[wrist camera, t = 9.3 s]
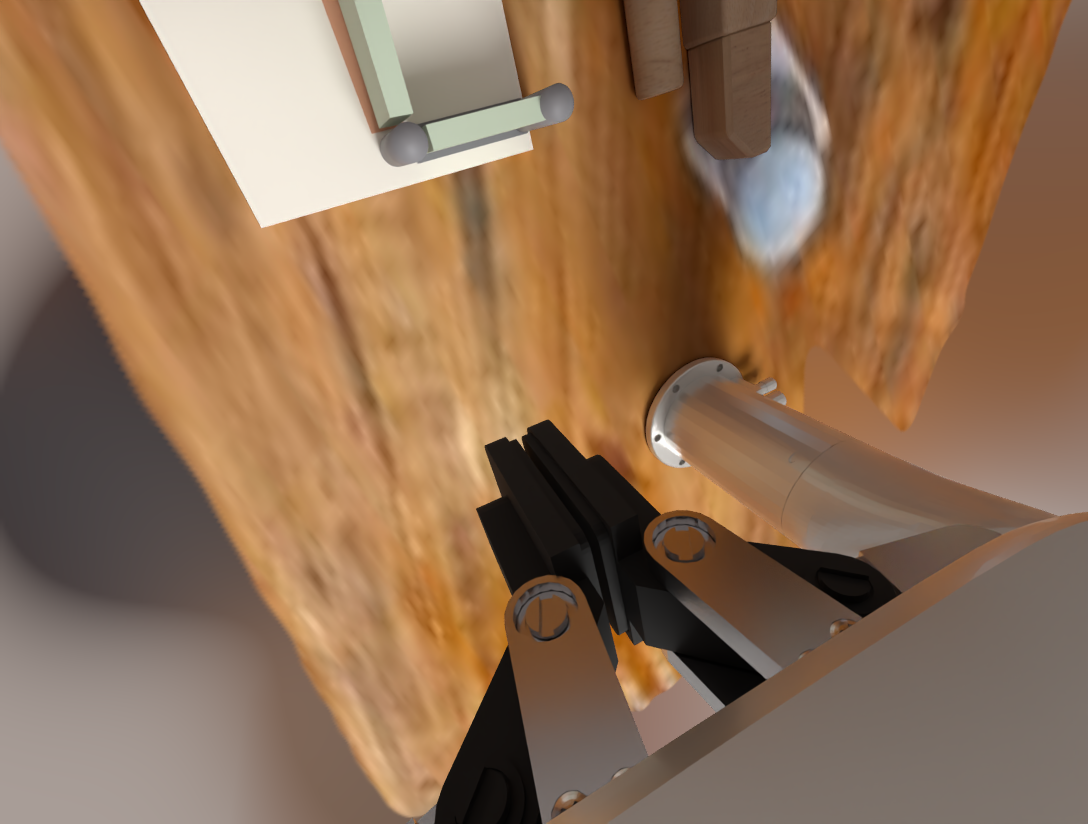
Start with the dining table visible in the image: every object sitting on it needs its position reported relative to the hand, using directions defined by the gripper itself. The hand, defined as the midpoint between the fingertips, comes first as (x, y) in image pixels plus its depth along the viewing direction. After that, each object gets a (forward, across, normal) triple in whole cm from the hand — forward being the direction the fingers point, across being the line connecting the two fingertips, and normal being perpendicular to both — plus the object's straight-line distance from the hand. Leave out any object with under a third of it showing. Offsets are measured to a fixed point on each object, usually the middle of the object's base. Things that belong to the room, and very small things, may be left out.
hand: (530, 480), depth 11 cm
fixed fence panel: (+25, -7, -9) cm, 27 cm away
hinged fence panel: (+23, -3, -14) cm, 28 cm away
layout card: (+24, -2, -14) cm, 28 cm away
